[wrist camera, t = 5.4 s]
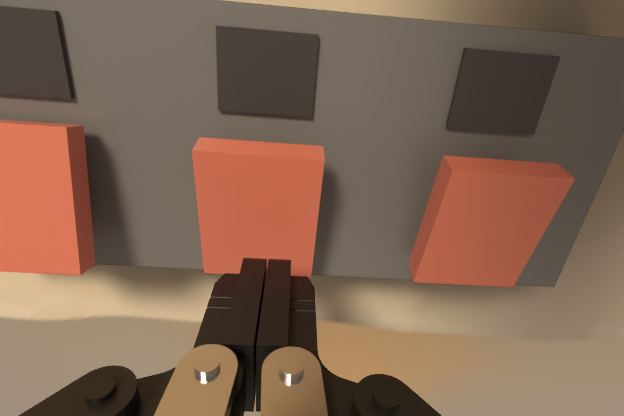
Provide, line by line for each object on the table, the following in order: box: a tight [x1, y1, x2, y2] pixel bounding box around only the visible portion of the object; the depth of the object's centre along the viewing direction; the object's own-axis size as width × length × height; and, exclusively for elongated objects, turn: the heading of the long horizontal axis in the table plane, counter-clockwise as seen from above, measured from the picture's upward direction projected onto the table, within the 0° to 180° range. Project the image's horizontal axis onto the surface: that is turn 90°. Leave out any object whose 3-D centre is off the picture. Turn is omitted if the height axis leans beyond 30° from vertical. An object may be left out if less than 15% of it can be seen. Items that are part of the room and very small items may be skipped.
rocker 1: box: [0, 119, 95, 275], centre depth 13 cm, size 4×5×1 cm
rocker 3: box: [408, 155, 575, 287], centre depth 14 cm, size 4×5×1 cm
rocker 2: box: [192, 137, 325, 278], centre depth 13 cm, size 4×5×1 cm
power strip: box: [0, 0, 624, 287], centre depth 15 cm, size 30×10×4 cm, turn 85°
